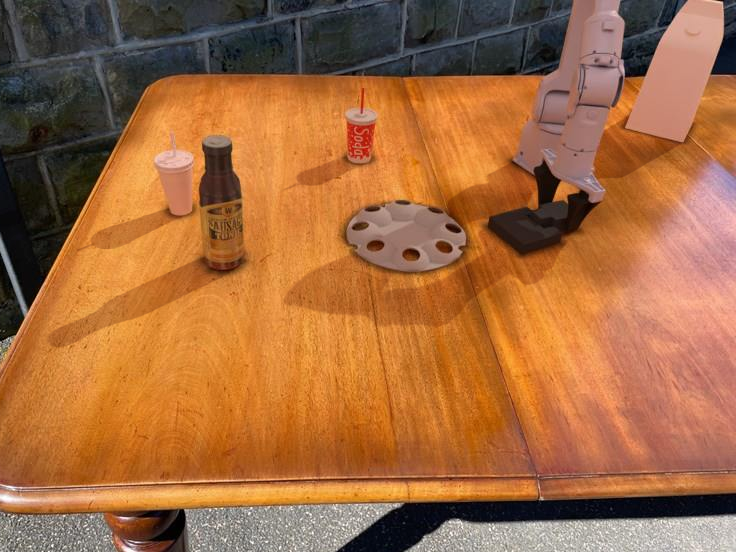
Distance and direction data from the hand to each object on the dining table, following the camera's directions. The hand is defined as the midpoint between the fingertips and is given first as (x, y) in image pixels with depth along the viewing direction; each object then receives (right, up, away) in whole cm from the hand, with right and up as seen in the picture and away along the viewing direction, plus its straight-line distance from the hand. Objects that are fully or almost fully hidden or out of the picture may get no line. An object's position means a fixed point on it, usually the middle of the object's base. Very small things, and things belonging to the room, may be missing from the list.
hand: (557, 217), depth 107 cm
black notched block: (-1, -1, +1) cm, 2 cm away
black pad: (-6, -3, -2) cm, 7 cm away
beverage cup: (-33, +14, +18) cm, 40 cm away
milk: (+34, +25, +33) cm, 53 cm away
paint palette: (-26, -3, -3) cm, 26 cm away
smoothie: (-64, +1, +1) cm, 64 cm away
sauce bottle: (-54, -8, -9) cm, 56 cm away
